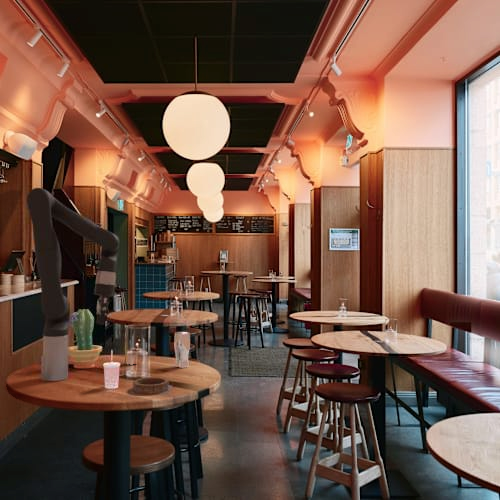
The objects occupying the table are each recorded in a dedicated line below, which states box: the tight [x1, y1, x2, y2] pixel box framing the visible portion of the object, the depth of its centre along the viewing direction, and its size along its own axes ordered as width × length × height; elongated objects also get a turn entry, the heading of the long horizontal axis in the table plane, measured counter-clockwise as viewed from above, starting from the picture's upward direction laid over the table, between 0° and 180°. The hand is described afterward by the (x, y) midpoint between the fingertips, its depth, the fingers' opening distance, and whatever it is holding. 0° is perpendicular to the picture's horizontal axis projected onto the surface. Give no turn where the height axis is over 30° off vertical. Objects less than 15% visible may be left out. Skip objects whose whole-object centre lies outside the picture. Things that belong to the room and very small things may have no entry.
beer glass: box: [173, 331, 191, 369], centre depth 232 cm, size 7×7×15 cm
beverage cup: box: [102, 349, 121, 390], centre depth 194 cm, size 6×6×14 cm
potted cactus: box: [68, 308, 103, 369], centre depth 232 cm, size 15×15×25 cm
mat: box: [128, 384, 173, 395], centre depth 190 cm, size 14×12×1 cm
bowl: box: [132, 376, 170, 395], centre depth 190 cm, size 12×12×3 cm
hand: (100, 324), depth 207 cm, fingers open, 8 cm apart
